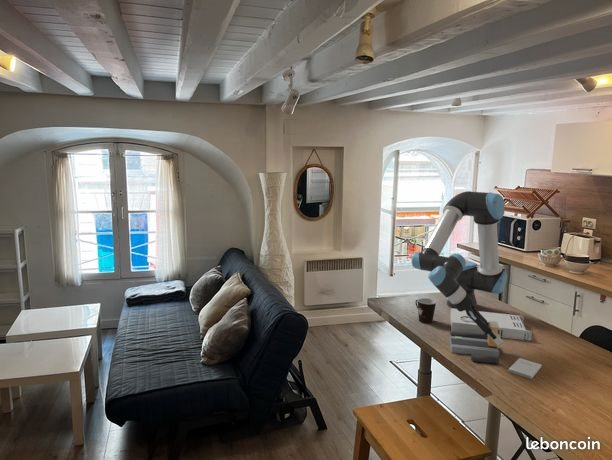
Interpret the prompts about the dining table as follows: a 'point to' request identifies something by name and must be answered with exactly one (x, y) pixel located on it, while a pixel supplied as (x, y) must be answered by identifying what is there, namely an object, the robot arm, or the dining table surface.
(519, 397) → the dining table surface
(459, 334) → the dark grey rounded rod
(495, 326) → the block
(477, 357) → the dark grey capsule rod
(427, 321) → the coffee mug
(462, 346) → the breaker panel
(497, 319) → the power supply unit
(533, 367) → the external hard drive
